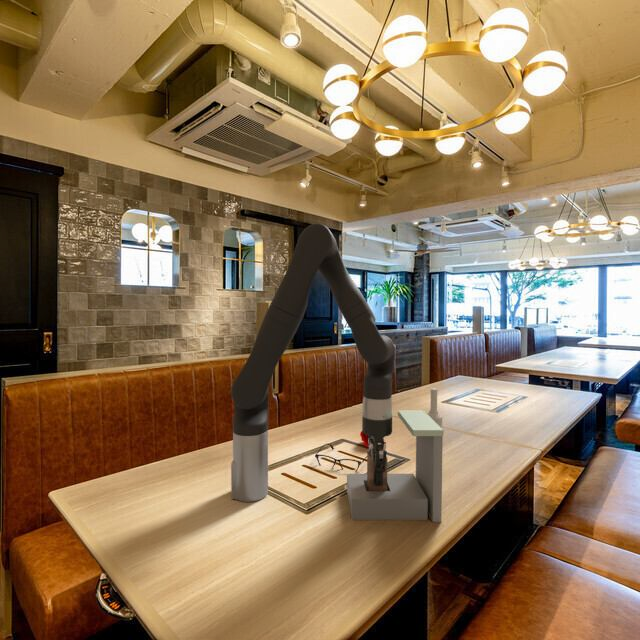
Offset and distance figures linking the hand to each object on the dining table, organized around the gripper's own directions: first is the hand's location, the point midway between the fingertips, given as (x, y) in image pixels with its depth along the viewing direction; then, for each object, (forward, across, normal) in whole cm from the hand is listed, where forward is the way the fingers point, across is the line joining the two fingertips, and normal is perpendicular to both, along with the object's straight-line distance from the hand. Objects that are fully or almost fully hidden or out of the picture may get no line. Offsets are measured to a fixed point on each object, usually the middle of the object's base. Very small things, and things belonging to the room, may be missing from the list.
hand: (376, 480), depth 100 cm
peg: (+3, 0, 0) cm, 3 cm away
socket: (+6, 0, -2) cm, 7 cm away
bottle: (+6, +22, -21) cm, 31 cm away
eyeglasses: (+7, +29, +6) cm, 31 cm away
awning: (+6, 0, -11) cm, 12 cm away
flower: (+7, +44, -5) cm, 45 cm away
